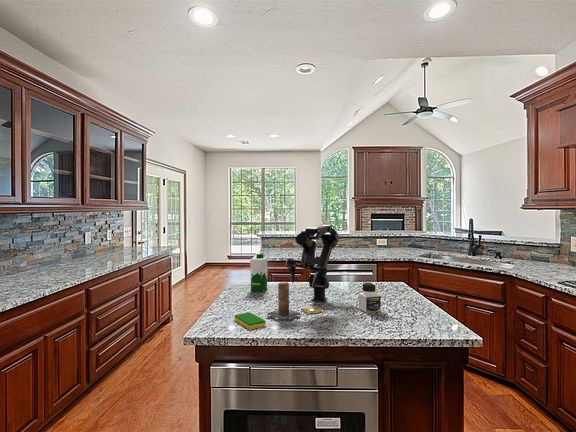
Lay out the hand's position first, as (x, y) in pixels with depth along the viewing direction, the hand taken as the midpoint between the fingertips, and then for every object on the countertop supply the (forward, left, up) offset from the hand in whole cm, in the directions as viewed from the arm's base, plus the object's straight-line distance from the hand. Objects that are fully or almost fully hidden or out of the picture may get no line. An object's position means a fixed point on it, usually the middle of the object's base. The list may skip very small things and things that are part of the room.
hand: (302, 285), depth 149 cm
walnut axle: (+10, -5, -10) cm, 15 cm away
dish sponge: (+23, -14, -12) cm, 29 cm away
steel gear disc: (+10, -5, -11) cm, 16 cm away
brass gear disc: (-1, +4, -11) cm, 12 cm away
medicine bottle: (-12, +27, -11) cm, 32 cm away
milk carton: (-27, -37, -11) cm, 47 cm away
